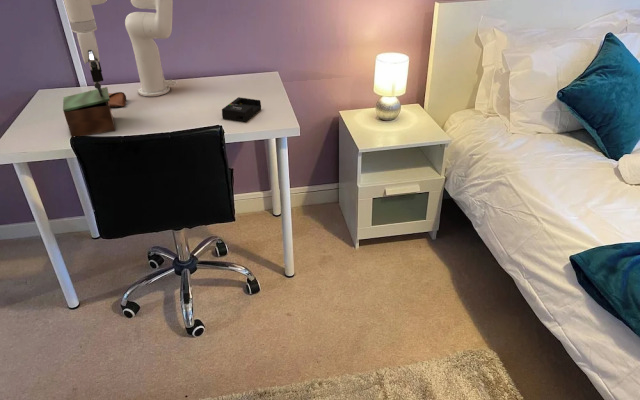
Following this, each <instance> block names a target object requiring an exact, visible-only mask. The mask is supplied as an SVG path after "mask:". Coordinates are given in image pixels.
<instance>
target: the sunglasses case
mask: <svg viewBox="0 0 640 400" xmlns="http://www.w3.org/2000/svg"><path fill="white" fill-rule="evenodd" d="M108 93H109V98H110V101H109V105H110V109H115V108H121V107H125V106H126V105H127V97H126V94H125V93H124V92H122V91H117V92H111V93H110V92H108Z"/></svg>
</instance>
